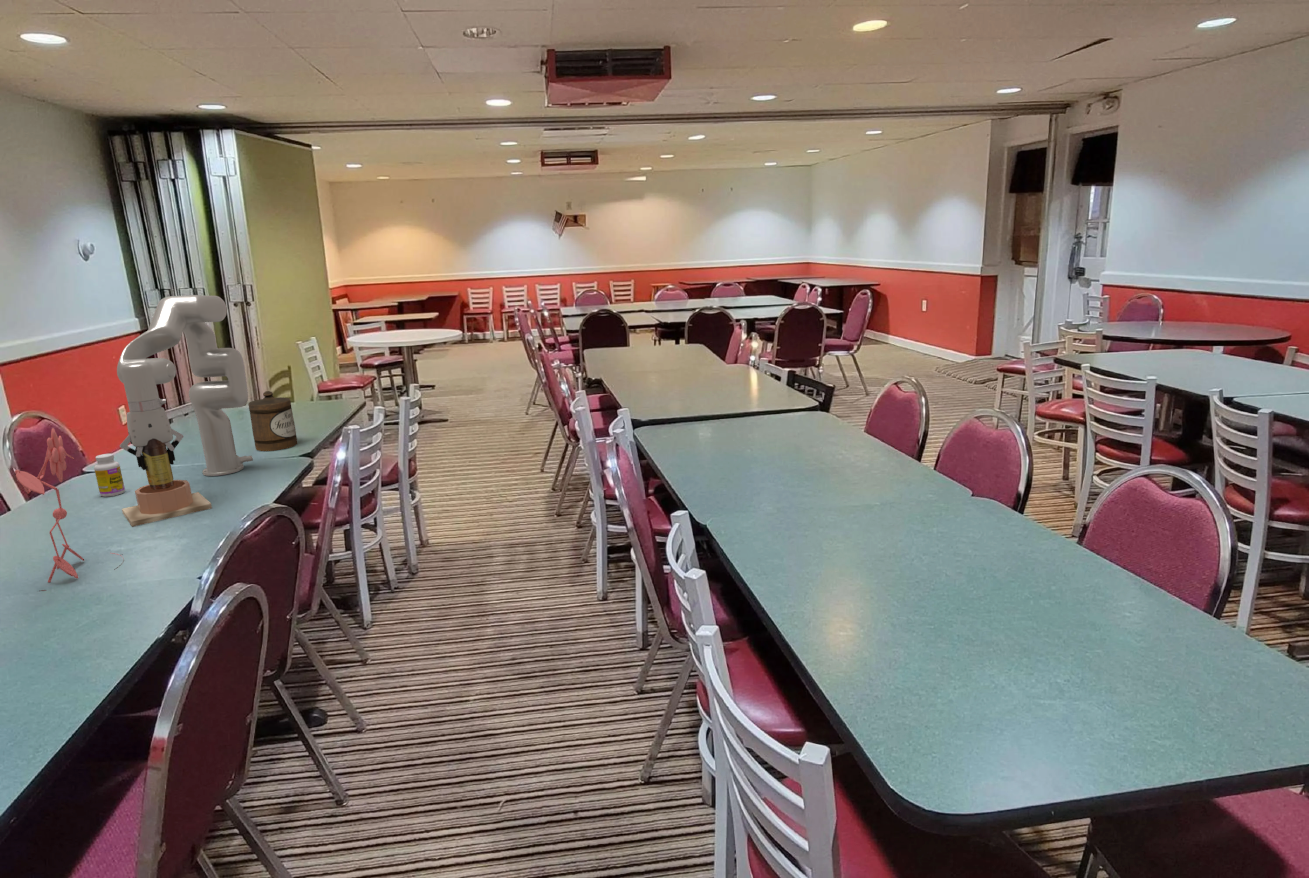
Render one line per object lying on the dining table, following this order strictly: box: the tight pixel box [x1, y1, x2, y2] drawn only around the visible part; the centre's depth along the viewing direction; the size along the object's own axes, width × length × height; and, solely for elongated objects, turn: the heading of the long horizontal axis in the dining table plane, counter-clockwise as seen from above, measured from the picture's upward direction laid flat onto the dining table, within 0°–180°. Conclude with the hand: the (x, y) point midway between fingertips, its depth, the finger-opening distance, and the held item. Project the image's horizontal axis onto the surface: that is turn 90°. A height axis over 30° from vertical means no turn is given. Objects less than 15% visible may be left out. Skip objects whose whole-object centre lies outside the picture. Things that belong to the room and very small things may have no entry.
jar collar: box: [134, 479, 193, 514], centre depth 220 cm, size 13×13×6 cm
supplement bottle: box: [93, 453, 126, 498], centre depth 238 cm, size 7×7×13 cm
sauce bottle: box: [141, 424, 174, 490], centre depth 217 cm, size 7×6×20 cm
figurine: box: [14, 427, 125, 592], centre depth 177 cm, size 15×26×35 cm, turn 27°
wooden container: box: [248, 390, 298, 452], centre depth 289 cm, size 15×15×22 cm
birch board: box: [121, 491, 213, 528], centre depth 221 cm, size 20×16×2 cm
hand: (157, 465), depth 218 cm, fingers closed on sauce bottle, 6 cm apart
